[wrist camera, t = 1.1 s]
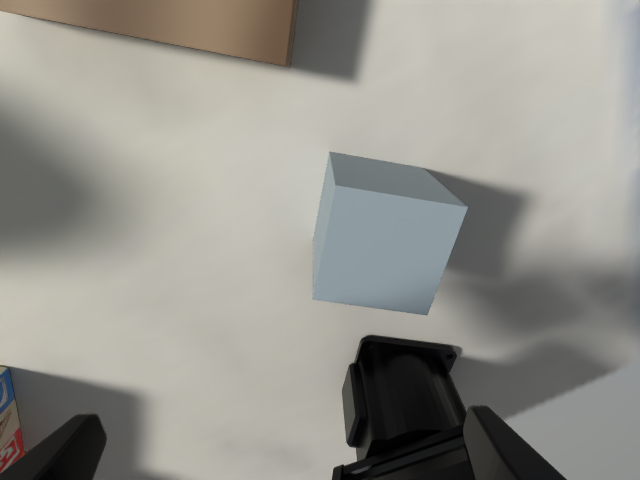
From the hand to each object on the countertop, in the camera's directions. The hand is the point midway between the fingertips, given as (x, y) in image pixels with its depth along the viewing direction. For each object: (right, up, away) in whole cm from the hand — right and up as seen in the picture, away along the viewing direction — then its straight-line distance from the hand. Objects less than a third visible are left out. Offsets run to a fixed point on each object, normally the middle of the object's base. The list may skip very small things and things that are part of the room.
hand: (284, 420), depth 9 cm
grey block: (+3, +6, +11) cm, 13 cm away
